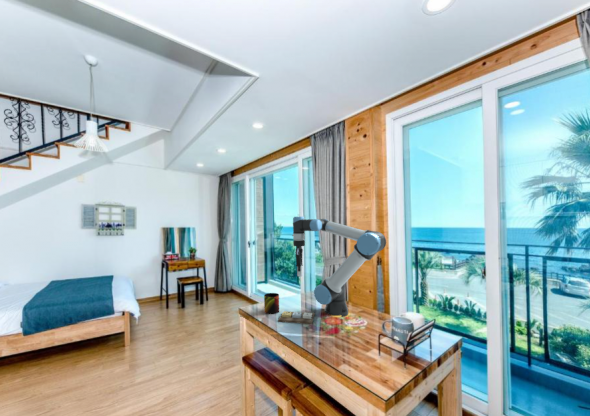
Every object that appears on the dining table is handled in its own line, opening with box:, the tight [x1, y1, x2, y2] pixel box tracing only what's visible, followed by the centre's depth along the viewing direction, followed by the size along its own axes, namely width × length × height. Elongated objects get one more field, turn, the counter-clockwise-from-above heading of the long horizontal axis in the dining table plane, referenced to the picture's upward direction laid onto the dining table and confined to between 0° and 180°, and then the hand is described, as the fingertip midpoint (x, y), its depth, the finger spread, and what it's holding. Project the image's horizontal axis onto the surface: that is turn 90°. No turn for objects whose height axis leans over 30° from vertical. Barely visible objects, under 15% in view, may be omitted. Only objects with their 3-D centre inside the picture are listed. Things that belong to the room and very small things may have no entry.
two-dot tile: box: [292, 311, 302, 318], centre depth 161 cm, size 5×5×4 cm
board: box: [277, 310, 316, 325], centre depth 161 cm, size 20×14×2 cm
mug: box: [263, 292, 280, 315], centre depth 176 cm, size 10×14×12 cm
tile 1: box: [281, 310, 293, 318], centre depth 162 cm, size 5×5×4 cm
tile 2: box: [303, 312, 313, 319], centre depth 160 cm, size 5×5×4 cm
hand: (299, 276), depth 173 cm, fingers closed
